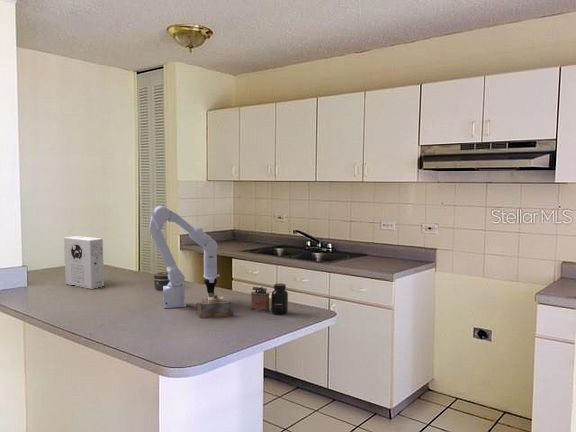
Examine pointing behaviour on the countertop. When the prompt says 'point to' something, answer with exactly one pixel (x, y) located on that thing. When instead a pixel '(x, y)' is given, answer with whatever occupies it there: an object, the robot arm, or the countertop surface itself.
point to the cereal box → (84, 261)
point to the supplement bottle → (279, 300)
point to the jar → (161, 280)
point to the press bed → (214, 309)
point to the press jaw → (210, 296)
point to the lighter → (260, 300)
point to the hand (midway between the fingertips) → (210, 295)
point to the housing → (215, 299)
